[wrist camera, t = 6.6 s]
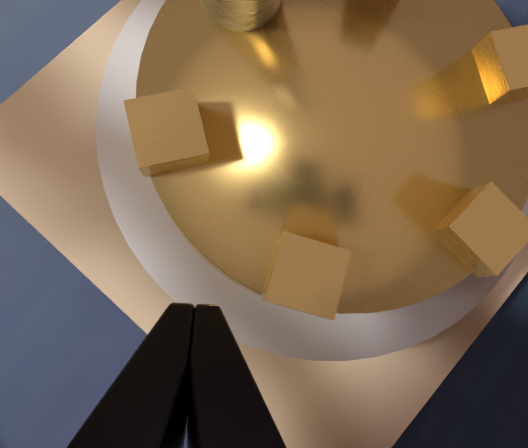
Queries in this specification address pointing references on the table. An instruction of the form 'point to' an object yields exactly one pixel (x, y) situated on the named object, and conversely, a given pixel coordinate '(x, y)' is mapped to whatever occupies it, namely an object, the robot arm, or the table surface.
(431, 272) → the round base with post
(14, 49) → the table surface
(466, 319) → the cap housing
